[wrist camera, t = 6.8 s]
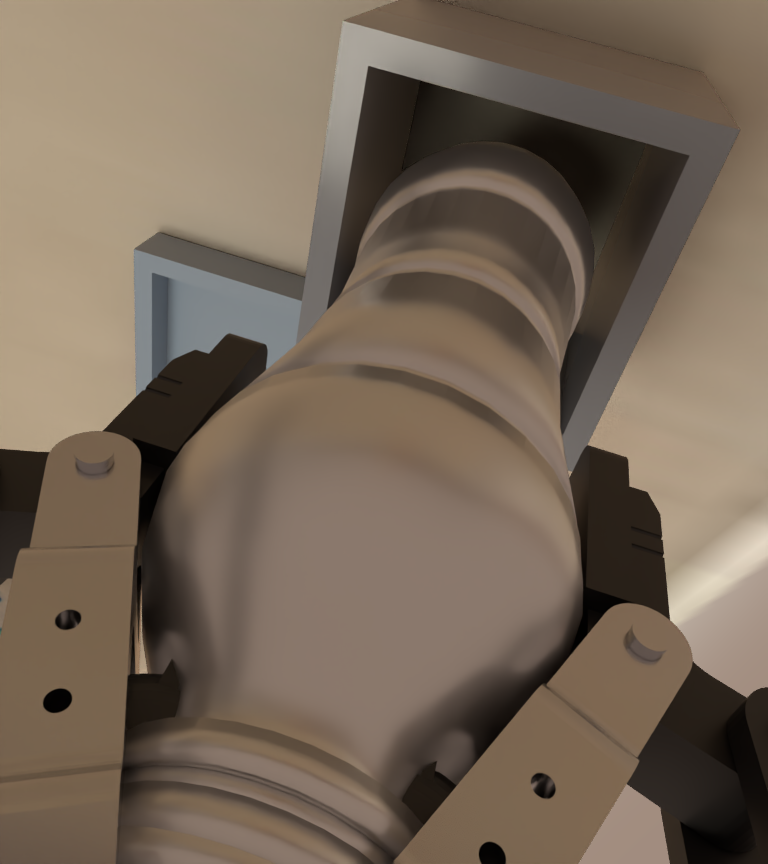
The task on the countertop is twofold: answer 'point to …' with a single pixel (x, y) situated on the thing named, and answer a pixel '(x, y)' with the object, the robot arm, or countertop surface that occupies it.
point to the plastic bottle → (371, 535)
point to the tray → (207, 303)
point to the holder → (545, 94)
